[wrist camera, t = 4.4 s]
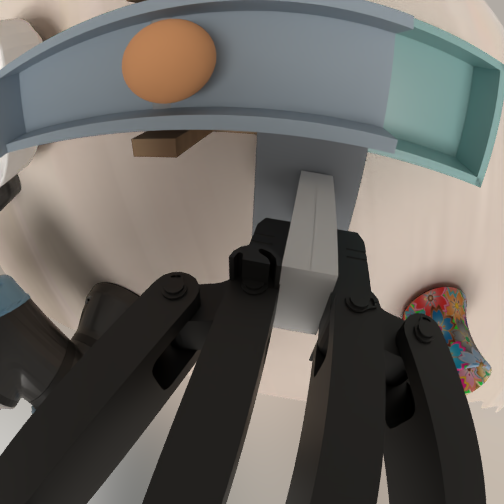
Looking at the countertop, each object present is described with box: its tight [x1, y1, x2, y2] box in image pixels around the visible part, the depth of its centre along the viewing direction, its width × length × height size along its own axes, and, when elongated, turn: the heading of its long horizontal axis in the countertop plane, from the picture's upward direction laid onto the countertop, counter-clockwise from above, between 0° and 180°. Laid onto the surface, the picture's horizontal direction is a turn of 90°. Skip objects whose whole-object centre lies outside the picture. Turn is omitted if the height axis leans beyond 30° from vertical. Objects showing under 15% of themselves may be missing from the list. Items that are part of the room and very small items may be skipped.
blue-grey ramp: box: [0, 0, 414, 237], centre depth 11 cm, size 22×13×4 cm, turn 88°
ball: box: [122, 19, 216, 104], centre depth 8 cm, size 4×4×4 cm
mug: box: [402, 287, 491, 395], centre depth 22 cm, size 12×9×11 cm
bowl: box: [0, 19, 43, 187], centre depth 15 cm, size 20×20×8 cm
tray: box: [368, 18, 504, 187], centre depth 12 cm, size 12×9×4 cm
